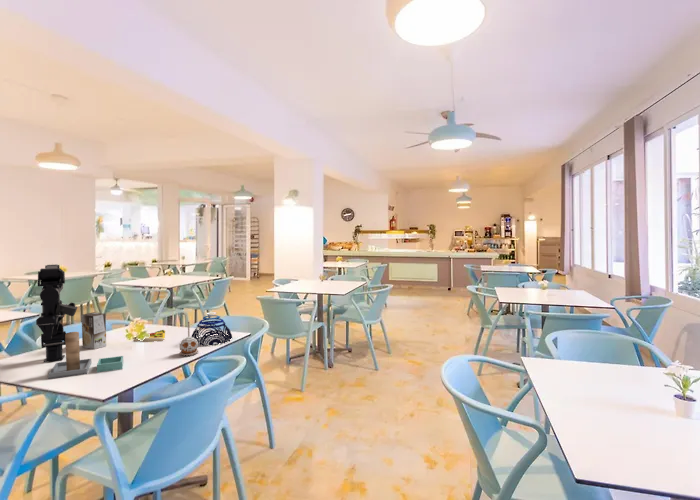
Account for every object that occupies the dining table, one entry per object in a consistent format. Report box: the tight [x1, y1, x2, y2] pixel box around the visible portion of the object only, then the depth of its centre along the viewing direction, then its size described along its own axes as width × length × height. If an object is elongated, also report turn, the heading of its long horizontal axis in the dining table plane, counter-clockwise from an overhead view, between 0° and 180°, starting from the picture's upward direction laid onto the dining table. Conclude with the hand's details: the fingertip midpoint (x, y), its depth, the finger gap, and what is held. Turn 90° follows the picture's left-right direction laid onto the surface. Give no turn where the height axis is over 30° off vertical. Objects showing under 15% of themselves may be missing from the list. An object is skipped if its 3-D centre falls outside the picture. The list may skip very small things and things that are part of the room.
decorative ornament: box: [179, 321, 199, 357], centre depth 175 cm, size 8×8×15 cm
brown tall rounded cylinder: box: [65, 331, 81, 371], centre depth 152 cm, size 4×4×15 cm
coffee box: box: [81, 311, 107, 350], centre depth 186 cm, size 9×6×16 cm
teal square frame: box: [96, 355, 124, 373], centre depth 158 cm, size 9×9×3 cm
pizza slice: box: [133, 329, 166, 343], centre depth 205 cm, size 16×21×3 cm
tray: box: [47, 358, 93, 380], centre depth 154 cm, size 14×12×2 cm
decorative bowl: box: [191, 311, 233, 346], centre depth 198 cm, size 20×20×14 cm
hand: (52, 337), depth 155 cm, fingers open, 9 cm apart
